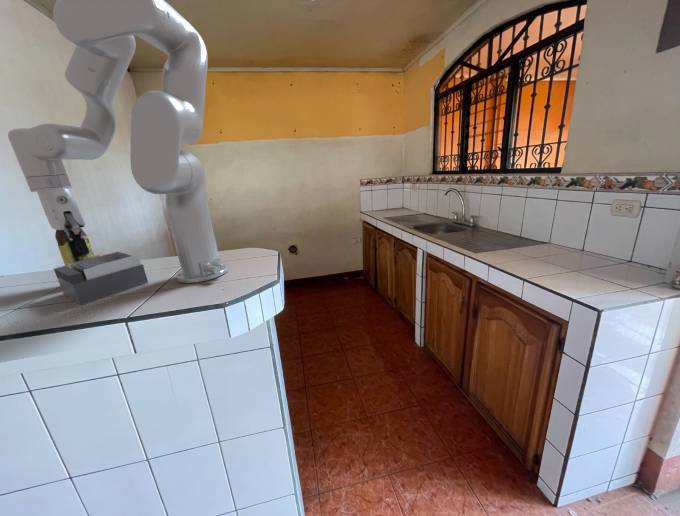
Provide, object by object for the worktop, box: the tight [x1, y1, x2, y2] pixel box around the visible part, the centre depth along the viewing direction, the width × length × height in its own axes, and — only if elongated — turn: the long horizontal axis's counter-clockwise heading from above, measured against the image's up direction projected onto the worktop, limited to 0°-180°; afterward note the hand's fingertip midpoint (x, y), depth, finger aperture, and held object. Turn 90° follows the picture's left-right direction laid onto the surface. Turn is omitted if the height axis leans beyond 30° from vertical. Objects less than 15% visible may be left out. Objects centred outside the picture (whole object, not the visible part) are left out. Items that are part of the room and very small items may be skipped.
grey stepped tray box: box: [53, 250, 149, 306], centre depth 72 cm, size 12×14×8 cm
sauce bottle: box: [54, 220, 95, 267], centre depth 76 cm, size 7×6×20 cm
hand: (77, 253), depth 76 cm, fingers closed on sauce bottle, 6 cm apart
